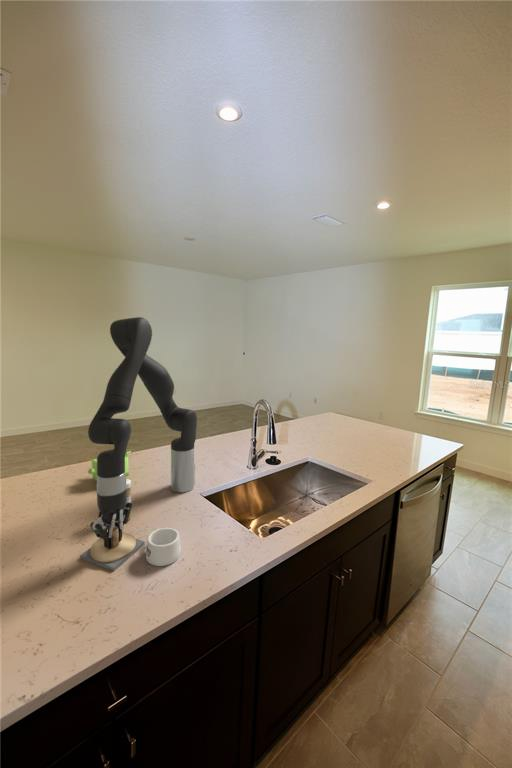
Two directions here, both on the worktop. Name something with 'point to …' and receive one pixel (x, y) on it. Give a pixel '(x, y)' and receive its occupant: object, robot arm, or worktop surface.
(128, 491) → the sprinkles bottle
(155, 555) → the mug
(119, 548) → the lid
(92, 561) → the mat
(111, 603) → the worktop surface
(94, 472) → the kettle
